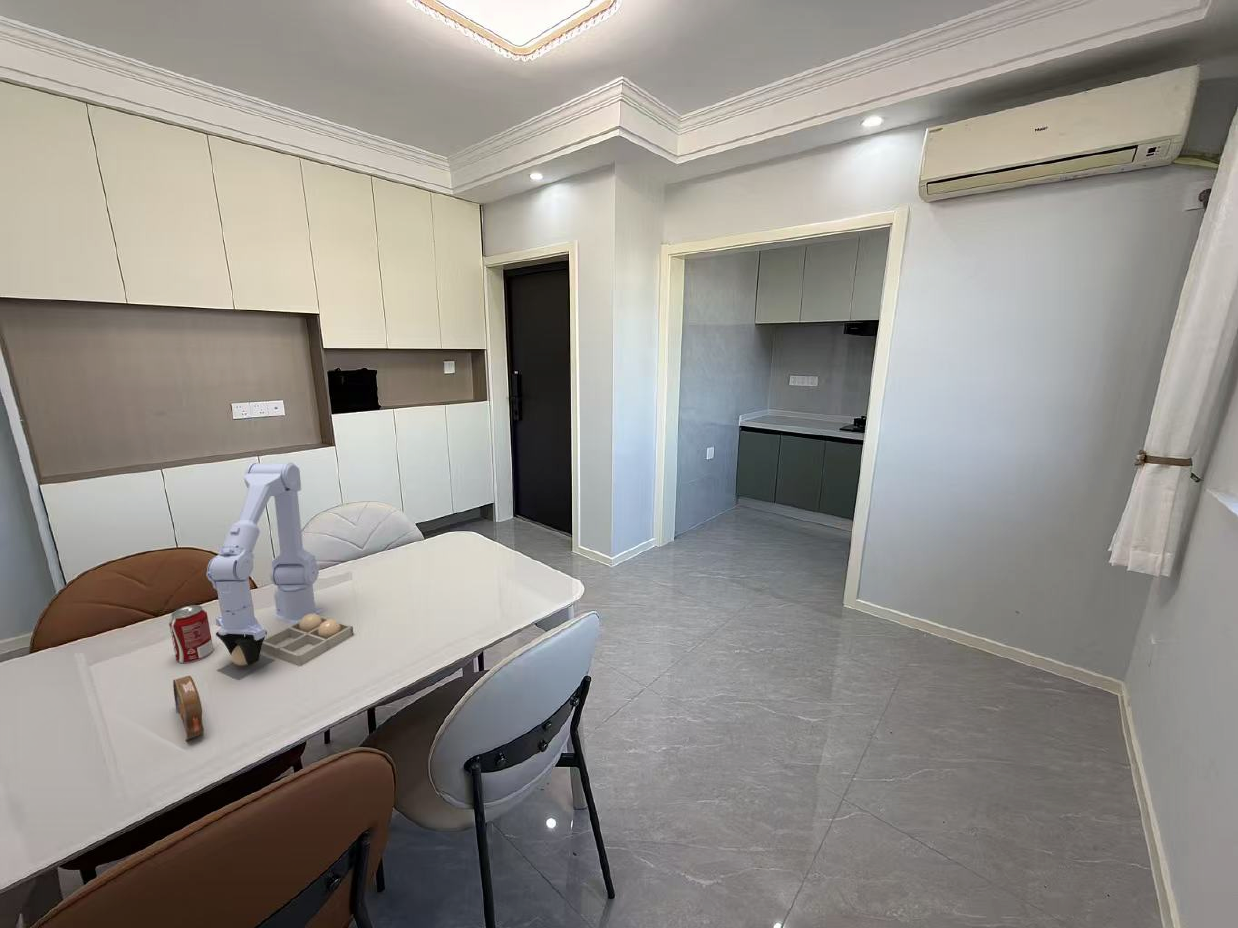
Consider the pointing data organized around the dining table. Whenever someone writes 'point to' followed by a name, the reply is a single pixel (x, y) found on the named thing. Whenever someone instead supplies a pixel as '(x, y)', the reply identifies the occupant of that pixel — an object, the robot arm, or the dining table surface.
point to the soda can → (190, 634)
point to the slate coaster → (245, 668)
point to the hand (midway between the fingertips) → (245, 659)
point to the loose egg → (238, 656)
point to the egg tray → (303, 642)
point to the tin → (188, 706)
